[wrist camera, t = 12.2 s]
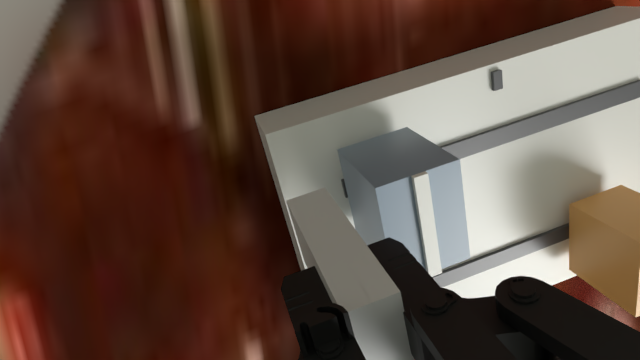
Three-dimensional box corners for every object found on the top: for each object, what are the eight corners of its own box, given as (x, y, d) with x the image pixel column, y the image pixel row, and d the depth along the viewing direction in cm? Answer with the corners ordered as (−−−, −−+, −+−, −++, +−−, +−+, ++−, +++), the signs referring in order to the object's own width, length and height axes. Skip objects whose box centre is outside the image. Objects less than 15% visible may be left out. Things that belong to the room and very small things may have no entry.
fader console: (319, 333, 26) (337, 375, 23) (254, 115, 21) (265, 136, 18) (606, 222, 29) (652, 247, 26) (616, 6, 23) (676, 8, 21)
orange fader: (568, 269, 24) (639, 320, 21) (569, 204, 23) (646, 246, 19) (617, 250, 25) (694, 296, 21) (621, 184, 23) (706, 222, 19)
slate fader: (356, 233, 20) (397, 290, 16) (337, 149, 18) (377, 190, 15) (419, 211, 20) (473, 261, 17) (406, 126, 19) (463, 161, 15)
